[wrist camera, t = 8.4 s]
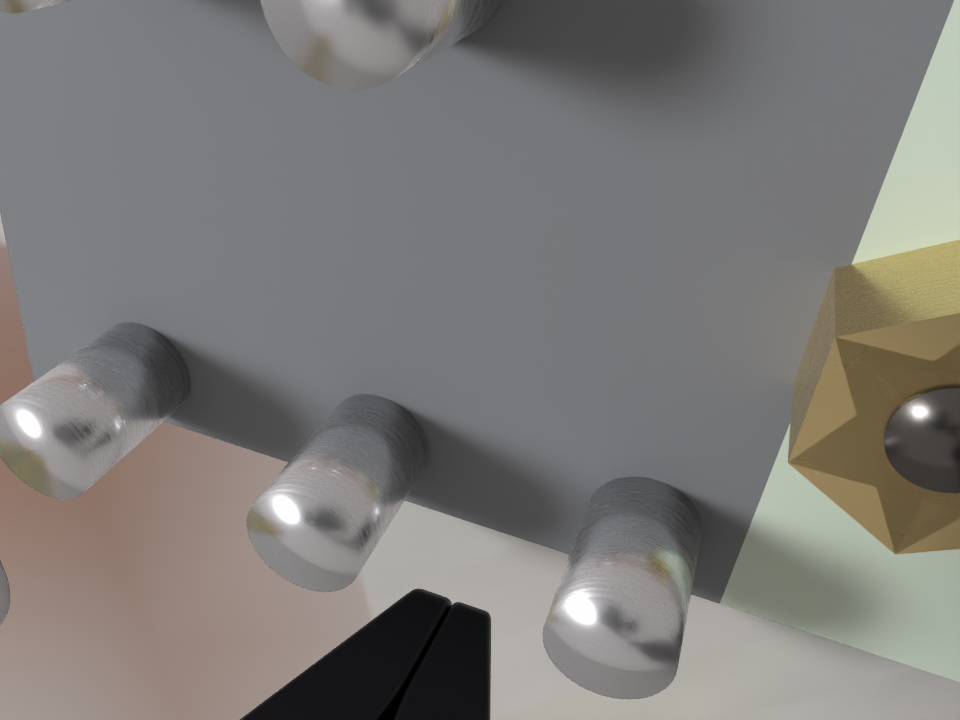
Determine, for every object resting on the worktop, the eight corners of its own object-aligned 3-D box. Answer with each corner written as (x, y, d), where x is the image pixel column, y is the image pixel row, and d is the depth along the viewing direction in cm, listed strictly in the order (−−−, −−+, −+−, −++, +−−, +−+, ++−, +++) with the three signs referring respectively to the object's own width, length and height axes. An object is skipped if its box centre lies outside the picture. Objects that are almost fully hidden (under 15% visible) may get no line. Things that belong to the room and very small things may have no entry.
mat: (1448, 8, 11) (1469, 14, 11) (991, 677, 18) (994, 693, 18) (-70, -233, 16) (-89, -234, 15) (44, 370, 23) (33, 378, 22)
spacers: (907, -50, 12) (930, -11, 9) (685, 581, 19) (660, 716, 16) (24, -196, 15) (-163, -200, 12) (108, 394, 22) (1, 479, 19)
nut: (1140, 262, 13) (1197, 342, 11) (1006, 497, 15) (1032, 597, 13) (857, 202, 14) (863, 266, 12) (774, 434, 16) (767, 520, 14)
